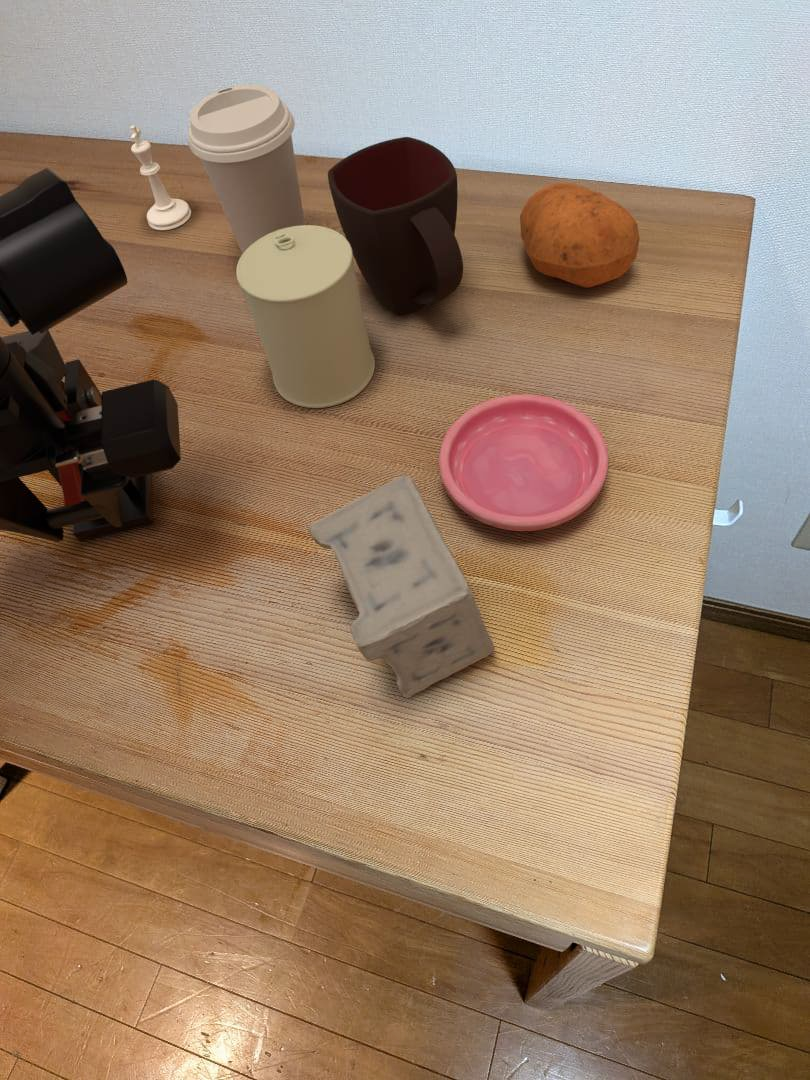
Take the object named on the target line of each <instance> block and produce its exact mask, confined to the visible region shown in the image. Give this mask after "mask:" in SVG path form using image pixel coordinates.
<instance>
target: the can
mask: <svg viewBox="0 0 810 1080" xmlns="http://www.w3.org/2000/svg"><path fill="white" fill-rule="evenodd" d="M355 269H356V268H355V263H354V256H353V253H352V248H351V246H350V244H349V242H348V241H347V239H346V237H345V235H342V234H341V233H340V232H338V231H337V230H334V229H332V228H329V227H326V226H321V225H313V224H312V225H311V224H305V225H301V226H293V227H288V228H283V229H280V230H277V231H274V232H272V233H270V234H267V235H265V236H264V237H262V238H260V239H259V240H257V241H256V242H254V243H253V244H252V245H251V246H249V247H248V248H247V249H246V251H245V252H244V253H241V256H240V257H239V259H238V262H237V265H236V270H235V271H236V272H235V274H236V275H235V276H236V280H237V282H238V284H239V286H240V288H241V291H242V293H243V296H244V298H245V301H246V303H247V306H248V309H249V311H250V314H251V317H252V320H253V322H254V325H255V329H256V331H257V333H258V335H259V339H260V342H261V345H262V348H263V350H264V353H265V356H266V359H267V362H268V365H269V368H270V370H271V371H270V372H271V374H272V381H273V385H274V387H275V390H276V391H277V393H279V395H280V397H282V398H283V399H284V400H285V401H287V402H289V403H290V404H292V405H295V406H297V407H302V408H307V409H324V408H325V409H326V408H330V407H334V406H338V405H340V404H343V403H345V402H348V401H350V400H352V399H353V398H355V397H356V396H358V395H359V394H360V393H362V391H364V390H365V388H366V387H368V385H369V384H370V382H371V380H372V378H373V375H374V373H375V369H376V359H375V357H374V353H373V351H372V349H371V343H370V340H369V335H368V330H367V326H366V321H365V317H364V311H363V307H362V305H363V304H362V301H361V296H360V291H359V285H358V280H357V276H356V270H355Z"/></svg>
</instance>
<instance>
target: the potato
mask: <svg viewBox="0 0 810 1080" xmlns="http://www.w3.org/2000/svg"><path fill="white" fill-rule="evenodd" d="M519 223H520V224H519V225H520V237H521V240H522V242H523V245H524V249H525V251H526V253H527V255H528V257H529V259H530V261H531V263H532V265H533V267H534V269H535V270H537V271H538V272H540V273H541V274H543V275H545V276H549V277H554V278H556V279H557V278H558V279H561V280H563V281H566V282H568V283H571V284H573V285H576V286H579V287H581V288H593V287H595V286H599V285H602V284H605V283H608V282H611V281H613V280H615V279H619V278H621V276H623V275H624V274H625V273H626V272H627V271H628V270H629V269H630V267H631V266H632V265H633V263H634V262H635V260H636V258H637V255H638V250H639V245H640V233H639V227H638V223H637V222H636V219H634V217H633V215H632V214H631V213H630V212H629V211H628V210H627V209H626V208H625V207H624V206H622V205H621V204H619V203H618V202H616V201H614V200H613V199H611V198H610V197H608V196H607V195H605V194H603V193H602V192H599V191H596V190H593V189H590V188H588V187H585V186H583V185H581V184H576V183H571V182H560V183H553V184H550V185H548V186H545V187H543V188H540V189H538V190H536V192H534V194H533V195H531V196H530V197H529V198H528V199H527V201H526V203H525V204H524V206H523V208H522V210H521V213H520V215H519Z"/></svg>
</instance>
